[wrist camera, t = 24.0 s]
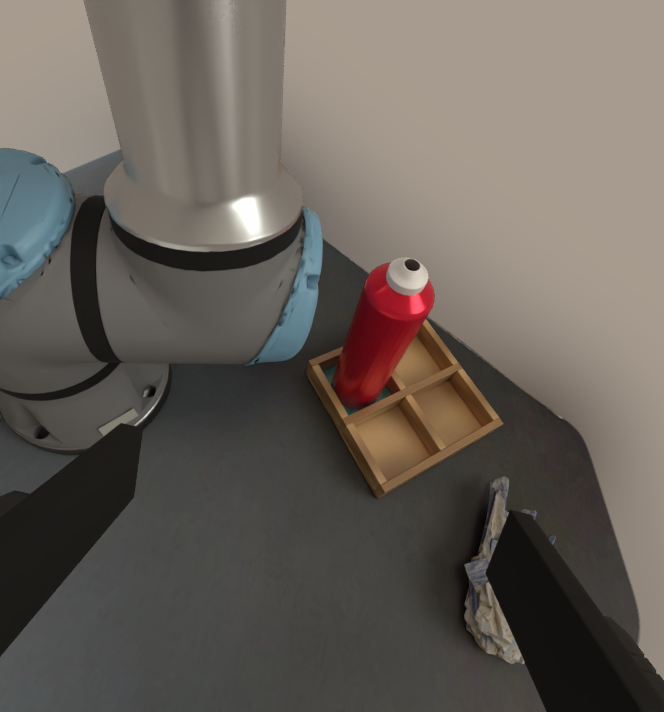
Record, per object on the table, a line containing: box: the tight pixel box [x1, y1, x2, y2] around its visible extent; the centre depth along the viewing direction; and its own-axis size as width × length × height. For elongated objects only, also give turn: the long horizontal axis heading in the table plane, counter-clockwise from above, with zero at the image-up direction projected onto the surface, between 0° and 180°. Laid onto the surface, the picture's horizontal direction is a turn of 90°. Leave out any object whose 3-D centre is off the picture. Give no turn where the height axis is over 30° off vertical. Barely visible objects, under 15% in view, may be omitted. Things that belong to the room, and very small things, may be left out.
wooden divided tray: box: [306, 319, 503, 499], centre depth 46 cm, size 15×15×3 cm
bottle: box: [331, 258, 434, 410], centre depth 38 cm, size 6×5×20 cm
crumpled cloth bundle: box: [464, 476, 556, 664], centre depth 38 cm, size 15×8×4 cm, turn 148°
